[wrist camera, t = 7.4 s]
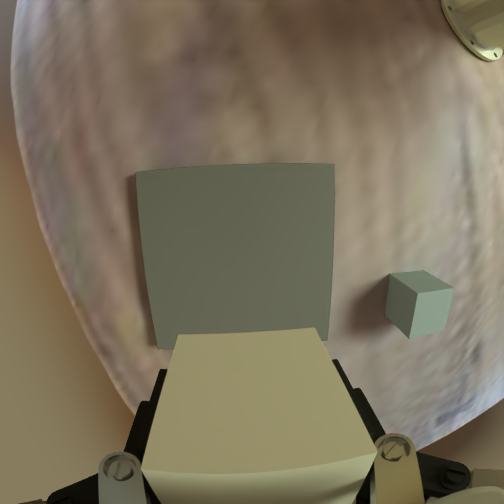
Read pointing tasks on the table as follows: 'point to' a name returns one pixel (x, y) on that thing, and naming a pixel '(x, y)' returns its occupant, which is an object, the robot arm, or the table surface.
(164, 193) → the baseplate
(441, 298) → the slate block
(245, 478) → the cream block
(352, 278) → the table surface
